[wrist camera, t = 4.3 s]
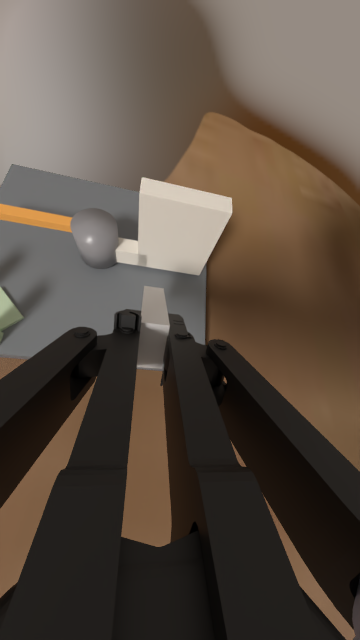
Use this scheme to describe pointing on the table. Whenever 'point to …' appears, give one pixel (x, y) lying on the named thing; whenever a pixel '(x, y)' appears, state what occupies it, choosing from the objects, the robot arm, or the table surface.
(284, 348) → the table surface
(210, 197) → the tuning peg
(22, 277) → the lever toy board
